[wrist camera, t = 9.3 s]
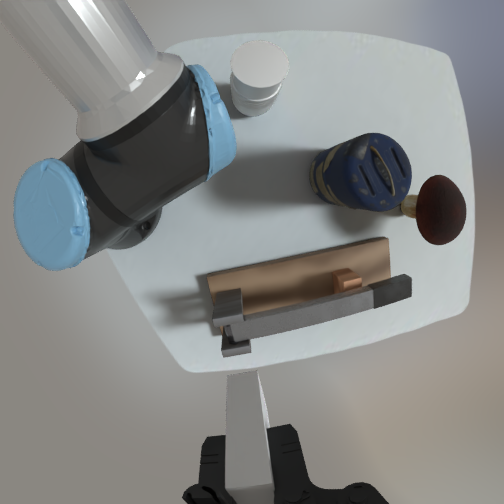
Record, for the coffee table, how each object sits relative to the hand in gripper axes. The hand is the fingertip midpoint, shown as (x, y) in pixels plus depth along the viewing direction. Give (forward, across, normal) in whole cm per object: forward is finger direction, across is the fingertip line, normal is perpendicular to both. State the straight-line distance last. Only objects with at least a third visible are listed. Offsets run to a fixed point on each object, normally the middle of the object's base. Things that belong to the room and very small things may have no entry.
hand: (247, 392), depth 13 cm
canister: (+35, +18, +9) cm, 40 cm away
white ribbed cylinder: (+35, +7, +24) cm, 43 cm away
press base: (+34, +10, -9) cm, 37 cm away
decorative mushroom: (+35, +32, +2) cm, 47 cm away
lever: (+26, +10, -9) cm, 29 cm away
